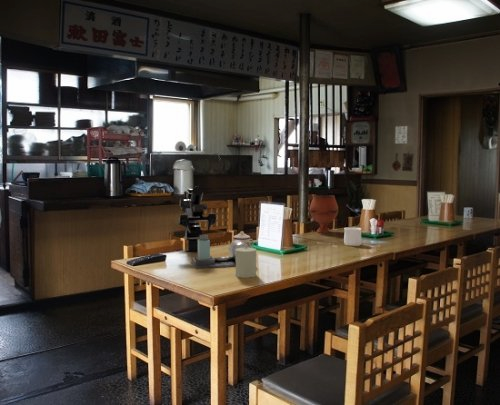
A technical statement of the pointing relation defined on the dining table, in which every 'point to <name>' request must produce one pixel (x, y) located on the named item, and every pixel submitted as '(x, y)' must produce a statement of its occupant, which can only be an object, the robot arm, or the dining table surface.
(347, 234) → the cup
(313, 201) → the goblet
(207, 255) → the pale teal bottle
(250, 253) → the can
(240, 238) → the teacup with lid
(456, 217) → the dining table surface
